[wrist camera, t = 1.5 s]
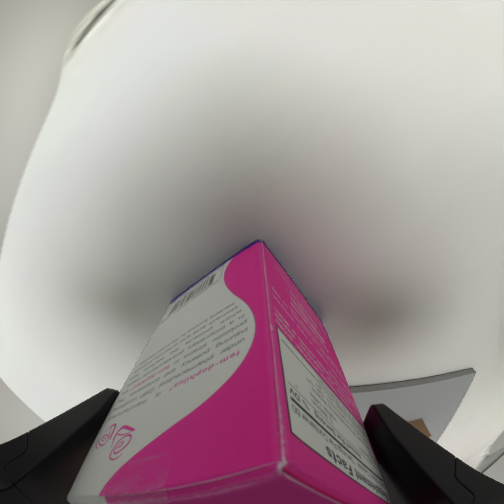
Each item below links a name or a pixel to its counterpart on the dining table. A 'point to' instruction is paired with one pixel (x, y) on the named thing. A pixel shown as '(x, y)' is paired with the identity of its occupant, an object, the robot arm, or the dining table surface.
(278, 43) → the dining table surface
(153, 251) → the dining table surface
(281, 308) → the supplement box
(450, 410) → the holder
